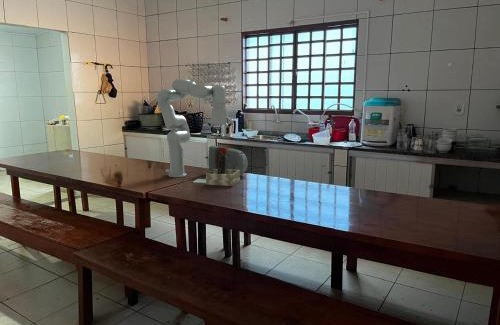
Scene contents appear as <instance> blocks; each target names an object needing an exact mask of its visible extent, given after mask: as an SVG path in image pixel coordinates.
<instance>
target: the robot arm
mask: <svg viewBox="0 0 500 325" xmlns="http://www.w3.org/2000/svg"><path fill="white" fill-rule="evenodd" d="M171 86H172V87H171V88H163V89H161V90H160V91H159V92H158V93H157V96H156V100H157V104H158V107H159V109H160V111H161V116H162V117H163V121H164V122H163V123H164V125H165V128H167V129H168V130H171V131H169V132H168V133H167V134H166V141H167V144H168V151H169V152H168V154H169V167H170V168H169V169H168V168H167V169H165V170H164V171H165V173H168V177H169V178H182V177H183V178H184V177H187V172H185V160H184V149H183V147H182V144H186V143H189V141H191V133H190V128H189V125H188V122H187V119H186V117H185V116H184V115H181V114H176V112H175V109H174V107H173V105H172V104H171V103H170V102H179V101H182V100H183V99H184V98H185V97H186V96H188V95H190V96H192V97H194V98H201V99H212V102H213V103H212V104H210V106H211V107H213V108H211V113H210V114H211V116H210V118H208V119H207V120H206V123H207V125H208V126H209V127H210V133H211V134H212V135H213V134H215V127H214V126H215V125H225V127H226V129H225V133H226V134H227V135H228V134H229V133H230V127H231V126H232V125H233V122H234V120H233V119H231V118H230V117H229V114H228V108H226V88H225V86H224V85H200V84H197V83H196V82H195V81H191V80H190V79H186V78H178V79H175V80H173V81H172V83H171ZM176 129H177V130H176Z"/></svg>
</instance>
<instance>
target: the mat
mask: <svg viewBox="0 0 500 325" xmlns="http://www.w3.org/2000/svg"><path fill="white" fill-rule="evenodd" d="M192 183H194V184H206V178H196V179H195V180H193V181H192Z"/></svg>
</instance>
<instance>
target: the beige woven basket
mask: <svg viewBox="0 0 500 325" xmlns="http://www.w3.org/2000/svg"><path fill="white" fill-rule="evenodd" d="M217 170H218V169H213V171H212V172H213V173H205V179H206V183H205V185H207V186H209V185H210V186H229V187H235V185H237V183H238V184H239V182H240V181H241V175H240V170H230V169H225V174H217V172H218V171H217Z"/></svg>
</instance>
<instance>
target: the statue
mask: <svg viewBox="0 0 500 325" xmlns="http://www.w3.org/2000/svg"><path fill="white" fill-rule="evenodd" d="M225 162H226V158H225V156H224V154H223V153H222V152H219V163H218V170H217V171H218V172H217V174H225V165H226V164H225Z"/></svg>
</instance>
